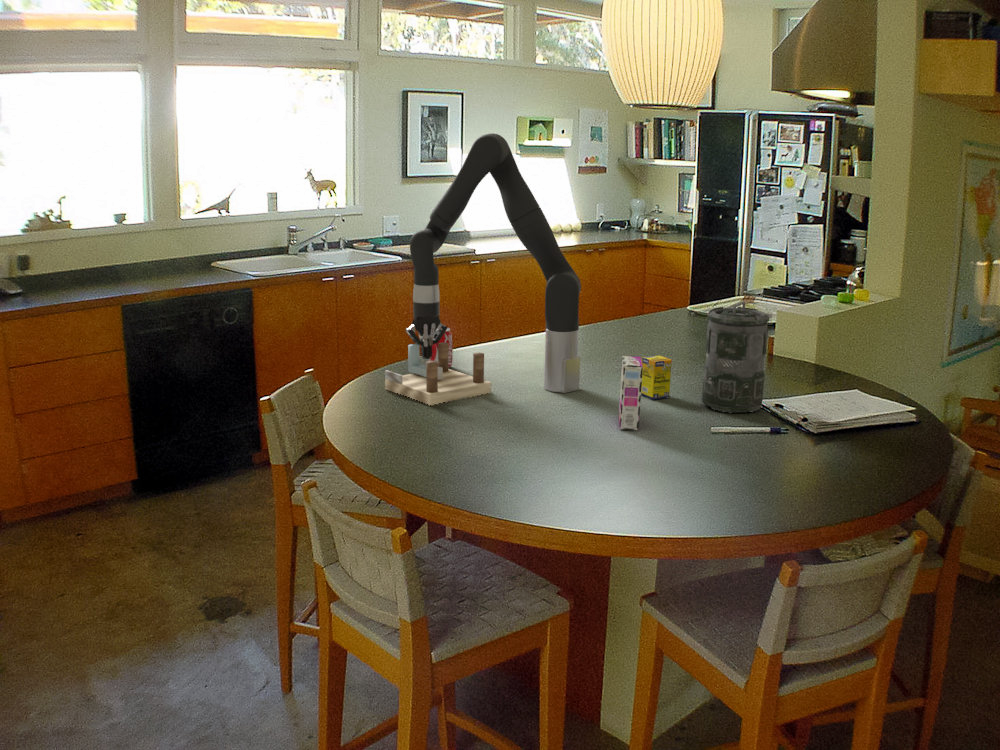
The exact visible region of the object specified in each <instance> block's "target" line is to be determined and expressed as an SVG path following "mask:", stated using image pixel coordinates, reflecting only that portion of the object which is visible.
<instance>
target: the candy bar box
mask: <svg viewBox="0 0 1000 750" xmlns="http://www.w3.org/2000/svg"><path fill="white" fill-rule="evenodd" d="M620 371H621V372H620V373H621V375H620V385H619V386H620V388H619V389H620V390H619V402H618V403H619V404H618V405H619V406H618V407H619V408H618V424H619V430H621V431H635V432H637V431H639V430H640V417H641V416H640V414H641V413H640V412H641V404H642V401H641V400H642V395H641V389H642V373H643V365H642V357H641V356H636V355H635V356H632V355H625V356H624V355H622V357H621V370H620Z"/></svg>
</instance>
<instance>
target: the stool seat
mask: <svg viewBox="0 0 1000 750" xmlns="http://www.w3.org/2000/svg"><path fill="white" fill-rule="evenodd" d="M472 355H473V356H472V360H473V361H472V366H473V367H472V375H469V374H466V373H463V372H459V371H456V370H454V369H450V367H449V343H438V362H437V361H429V360H428V361H425V362H426V363H425V366H426V377H424V376H421V375H418V374H415V373H408V374H399V373H397V372H393V371H391V370H388V369H386V370H384V389H385V390H387V391H389V392H392V393H395V394H397V393H398V394H397V395H400V394H401V396H403V395H404V396H403V397H405V396H407V397H406V398H408V397H410V398H409V399H411V398H412V399H411V400H413V399H415V400H414V401H416V400H418V401H417V402H419V401H420V402H419V403H421V402H423V404H424V403H425V404H424V405H427V404H428V405H427V406H430V405H431V406H435V405H434V404H436V405H440V404H439V403H441V404H444V403H443V402H445V403H449V402H448V401H450V402H453V401H452V400H455V401H459V400H463V399H462V398H464V399H468V398H467V397H469V398H473V397H472V396H474V397H478V396H482V395H481V394H483V395H487V393H488V394H491V393H492V382H491V381H489V380H485V353H484V352H473V354H472ZM438 367H442V368H443V379H442V380H438ZM477 395H478V396H477ZM458 399H459V400H458Z"/></svg>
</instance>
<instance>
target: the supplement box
mask: <svg viewBox="0 0 1000 750" xmlns="http://www.w3.org/2000/svg"><path fill="white" fill-rule="evenodd" d="M641 361H642V365H643V373H642V389H641V397H644V398H646V397H647V399H649V400H652V401H654V400H661V399H660V398H662V399H668V398H667V397H669V398H670V392H671V391H670V389H671V377H672V376H671V375H672V364H673V363H672V362H673V360H672V359H670V358H668V357H665V356H662V355H654V356H642V357H641Z"/></svg>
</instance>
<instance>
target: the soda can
mask: <svg viewBox="0 0 1000 750" xmlns="http://www.w3.org/2000/svg"><path fill="white" fill-rule="evenodd" d="M437 330H438V329H436V331H437ZM436 331H435V333H436ZM435 333H434V334H435ZM438 343H449V368H451V367H452V365H453V355H454V354H453V351H454V350H453V334H452V331H451V328H450V327H447V330H446V331H445V333H444V334H443V336H442V337H441V339H440V340H439V342H438ZM438 343H437V344H436V343H435V344H433V345H432V356H431V357H430V359H428V361H437V362H438Z"/></svg>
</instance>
